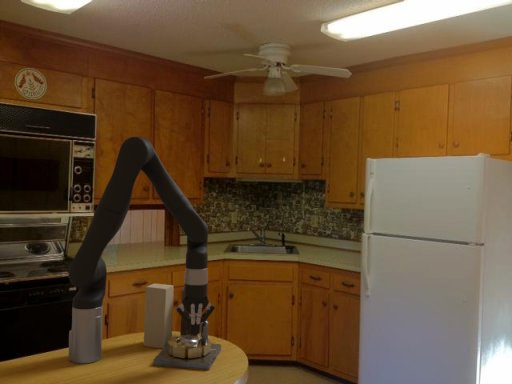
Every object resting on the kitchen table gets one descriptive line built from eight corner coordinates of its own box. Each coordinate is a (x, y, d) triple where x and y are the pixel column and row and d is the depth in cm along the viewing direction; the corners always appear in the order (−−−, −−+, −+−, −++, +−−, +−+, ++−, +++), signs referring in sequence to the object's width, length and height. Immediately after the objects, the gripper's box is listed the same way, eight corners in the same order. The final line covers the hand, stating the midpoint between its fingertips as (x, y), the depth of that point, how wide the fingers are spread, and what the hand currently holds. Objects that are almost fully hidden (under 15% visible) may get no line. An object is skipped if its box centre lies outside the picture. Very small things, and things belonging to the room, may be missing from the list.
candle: (202, 343, 170) (204, 288, 170) (182, 345, 167) (184, 289, 167) (197, 336, 177) (198, 283, 177) (178, 338, 175) (179, 284, 174)
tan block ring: (197, 360, 147) (198, 327, 147) (160, 353, 152) (161, 321, 152) (216, 347, 160) (217, 316, 160) (181, 341, 165) (182, 311, 165)
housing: (153, 365, 148) (154, 346, 148) (171, 346, 166) (171, 329, 166) (209, 370, 146) (209, 350, 146) (221, 349, 164) (221, 332, 164)
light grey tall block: (173, 342, 170) (174, 284, 170) (164, 348, 163) (165, 288, 163) (153, 339, 172) (154, 282, 172) (143, 346, 165) (144, 286, 165)
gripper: (177, 284, 145) (175, 340, 146) (218, 283, 149) (217, 337, 150) (173, 279, 153) (172, 332, 153) (213, 278, 157) (212, 330, 157)
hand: (194, 334), depth 151 cm, fingers closed
